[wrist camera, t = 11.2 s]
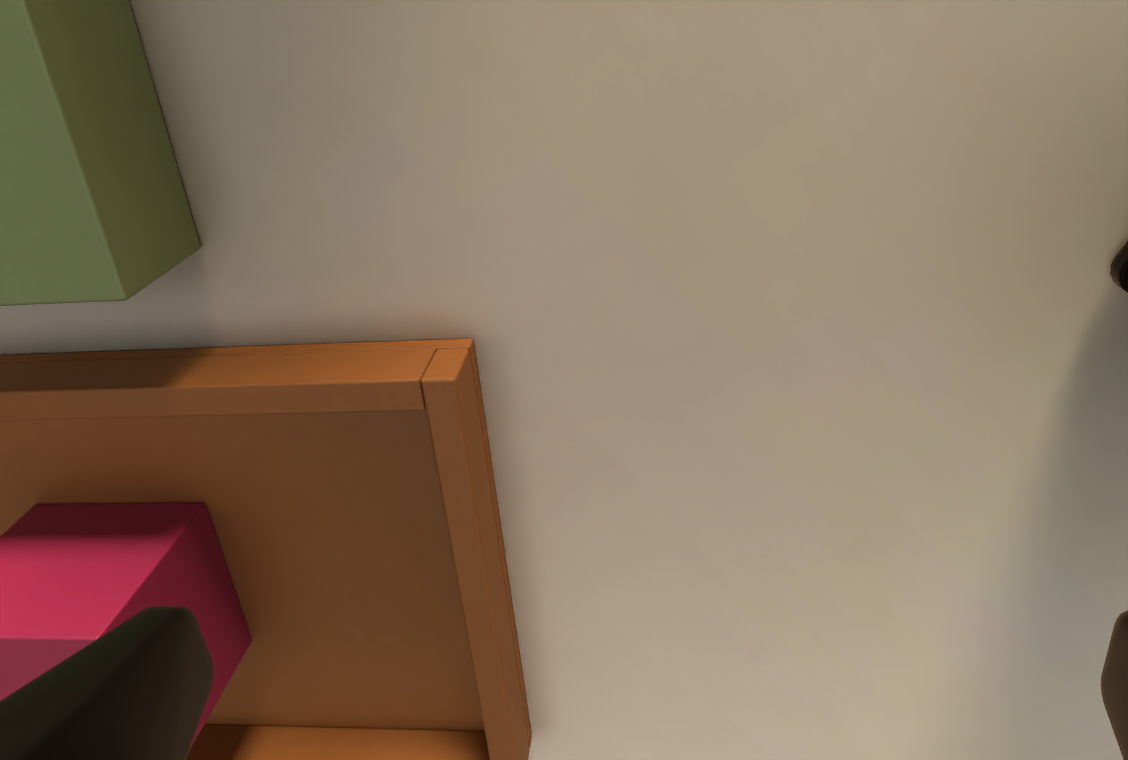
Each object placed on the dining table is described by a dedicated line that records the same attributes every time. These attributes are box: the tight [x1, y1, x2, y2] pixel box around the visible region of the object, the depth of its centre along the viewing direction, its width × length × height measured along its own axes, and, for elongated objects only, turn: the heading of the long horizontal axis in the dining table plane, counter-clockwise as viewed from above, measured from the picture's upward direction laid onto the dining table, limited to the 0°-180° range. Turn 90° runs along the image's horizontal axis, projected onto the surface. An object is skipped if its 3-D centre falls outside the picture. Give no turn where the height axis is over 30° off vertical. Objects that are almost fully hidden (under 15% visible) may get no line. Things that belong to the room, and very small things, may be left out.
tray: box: [0, 339, 532, 760], centre depth 24 cm, size 21×14×2 cm, turn 95°
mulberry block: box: [0, 502, 252, 750], centre depth 22 cm, size 5×5×5 cm
